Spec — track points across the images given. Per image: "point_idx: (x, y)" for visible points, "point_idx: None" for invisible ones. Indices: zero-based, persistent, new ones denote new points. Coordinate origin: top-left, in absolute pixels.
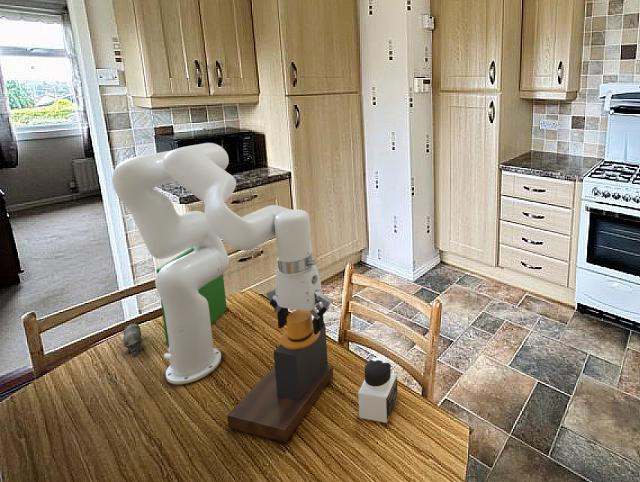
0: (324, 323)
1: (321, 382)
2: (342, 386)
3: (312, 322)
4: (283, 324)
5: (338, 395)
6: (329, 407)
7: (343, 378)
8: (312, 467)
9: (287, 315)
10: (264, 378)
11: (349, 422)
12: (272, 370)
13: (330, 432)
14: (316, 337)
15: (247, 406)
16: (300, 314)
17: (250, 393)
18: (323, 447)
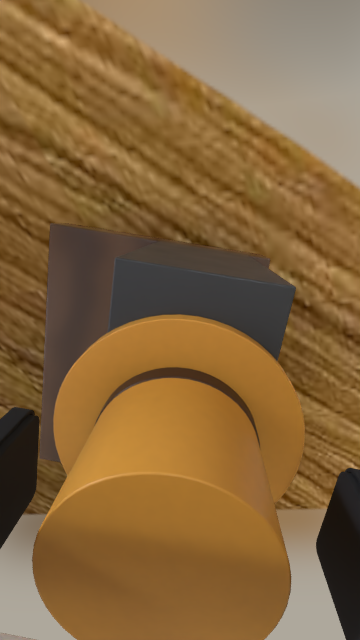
0: (290, 289)
1: None
2: (300, 281)
3: (189, 285)
4: (29, 484)
5: (297, 316)
6: (283, 357)
7: (294, 248)
8: (296, 496)
9: (3, 468)
10: (53, 336)
11: (354, 397)
12: (56, 300)
13: (310, 424)
14: (299, 464)
15: None
16: (161, 565)
17: (50, 394)
18: (305, 457)
